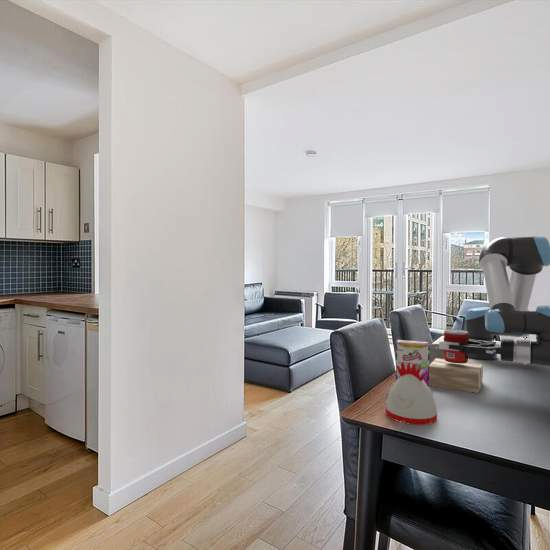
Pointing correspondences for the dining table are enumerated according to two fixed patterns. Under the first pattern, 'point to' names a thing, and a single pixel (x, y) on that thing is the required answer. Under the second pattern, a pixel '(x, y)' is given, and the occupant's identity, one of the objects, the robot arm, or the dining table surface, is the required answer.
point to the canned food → (456, 337)
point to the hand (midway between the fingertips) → (441, 343)
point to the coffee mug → (435, 353)
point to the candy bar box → (413, 357)
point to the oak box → (456, 375)
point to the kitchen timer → (411, 398)
